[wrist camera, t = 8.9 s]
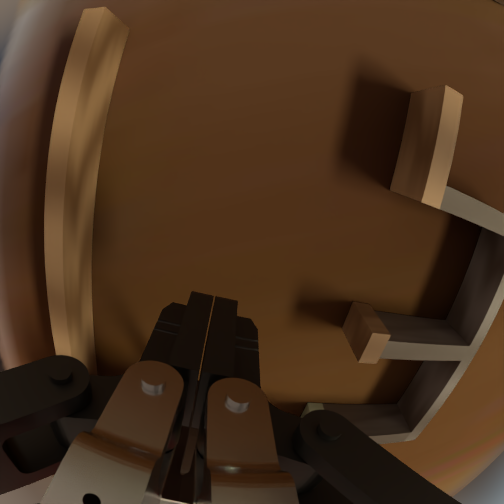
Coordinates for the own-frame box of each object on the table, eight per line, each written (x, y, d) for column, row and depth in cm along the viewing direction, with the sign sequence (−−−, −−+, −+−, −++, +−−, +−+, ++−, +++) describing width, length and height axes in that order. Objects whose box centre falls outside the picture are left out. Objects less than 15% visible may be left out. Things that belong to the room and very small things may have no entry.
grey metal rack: (111, 29, 12) (84, 9, 9) (510, 152, 15) (544, 158, 11) (94, 420, 22) (82, 448, 18) (368, 454, 24) (376, 479, 21)
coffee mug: (203, 449, 23) (193, 545, 13) (118, 402, 21) (81, 503, 11) (300, 384, 20) (324, 509, 11) (201, 318, 18) (170, 461, 8)
